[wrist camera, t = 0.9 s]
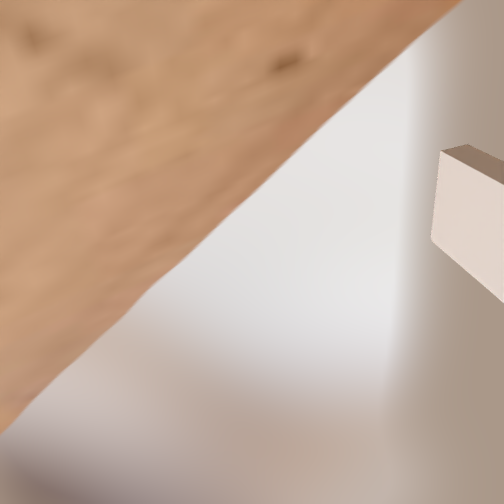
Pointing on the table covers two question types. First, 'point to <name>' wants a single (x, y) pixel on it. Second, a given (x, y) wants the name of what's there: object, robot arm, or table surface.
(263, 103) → the table surface
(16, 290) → the table surface
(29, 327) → the table surface
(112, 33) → the table surface
